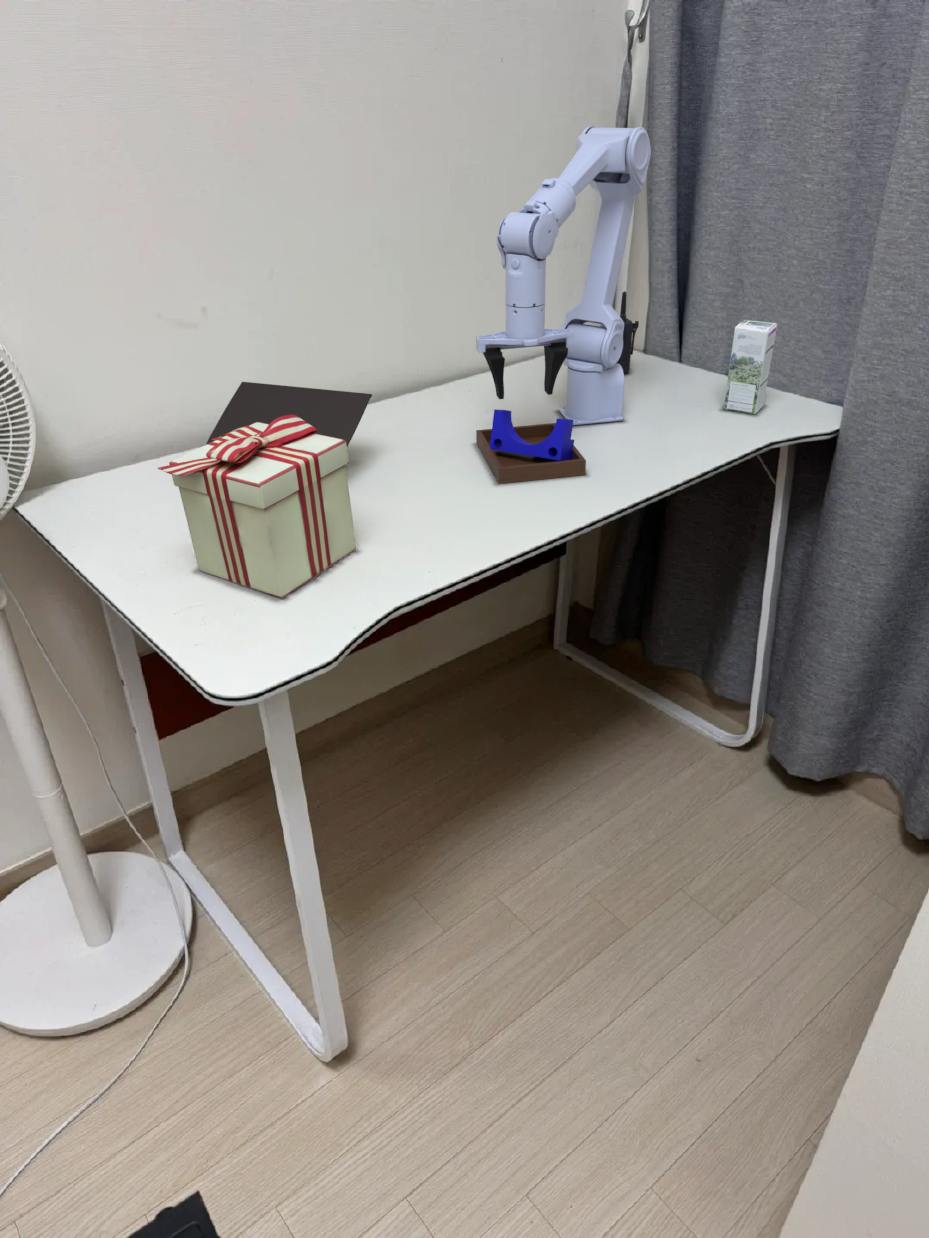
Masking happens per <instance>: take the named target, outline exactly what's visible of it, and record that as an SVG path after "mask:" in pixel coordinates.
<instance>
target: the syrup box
mask: <svg viewBox="0 0 929 1238" xmlns="http://www.w3.org/2000/svg"><path fill="white" fill-rule="evenodd" d="M777 329H778V323H776V322H769V321H768V322H767V321H758V320H748V319H743V320H742V321H740V322H739V323H738V324H737V325H735V326H734V332H733V339H732V347H731V353H730V360H729V367H728V375H727V382H726V389H725V397H724V403H723V410H724V411H725V410H726V411H730V412H737V413H743V414H750V415H756V414H757V413H758V412H759V411H760V410H761V409H762V408H763V407H764V405H765V401H766V394H767V388H768V380H769V376H770V375H769V374H770V370H771V364H772V363H771V362H772V357H773V352H774V346H775V342H776V341H775V340H776V334H777Z"/></svg>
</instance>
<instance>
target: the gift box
mask: <svg viewBox="0 0 929 1238" xmlns="http://www.w3.org/2000/svg"><path fill="white" fill-rule="evenodd" d="M317 431H318V430H317V429H316V428H314V427H313V426H311V425H310V424H308V423H307V422H305V421H304V420H302V419H301V418H300V417H298V416H296V415H286V416H282V417H278V418H277V419H275V420H274V421H272V422H271V423H270V424H265V423H259V422H256V423H254V424H251V425H249V426H244V427H241V428H238V429H236V430H233V431H231V432H229V433H227V434H224V435H222V436H221V437H217V438H214V439H212V440H215V441H213V442H211V443H209V444H207V445H206V444H204V445H203V446H201V447H198V448H196V449H194V450H191V451H189V452H187V453H185V454H183V455H181V456H178V457H176V458H174V459H172V460H170V461H169V462H168V465H164V466H159V467H157V470H160V471H162V472H164V473H166V474H169V475H171V477H172V478H171V479H172V482H173V485H174V486H175V487H178V491H179V495H180V499H181V502H182V507H183V511H184V514H185V518H186V524H187V527H188V531H189V537H190V540H191V545H192V549H193V552H194V558H195V562H196V565H197V569H198V571H199V572H202V573H206V574H208V575H212V576H215V577H217V578H220V579H223V580H226V581H229V582H231V583H235V584H237V585H240V586H243V587H247V588H249V589H253V590H256V591H259V592H261V593H264V594H267V595H272V596H275V597H277V598H281V599H283V598H284V597H287V596H288V595H289V594H291V593H292V592H294V591H295V590H297V589H298V588H299V587H301V586H303V585H304V584H305V583H307V582H308V581H310V580H311V579H314V578H316V577H317V576H318V575H319V574H321V572H323V571H325V570H327V569H329V568H330V567H331V566H332V565H333V564H335V563H336V562H338V561H339V560H342V559H343V558H344V557H346V556H347V555H348V554H349V553H351V552H353V551H354V550H356V548H357V542H356V535H355V527H354V520H353V519H354V518H353V511H352V505H351V495H350V489H349V481H348V475H347V474H348V473H347V465H349V464H350V459H349V454H348V447H347V445H346V441H345V440H343V439H338V438H333V437H328V436H324V435H319V434H315V432H317Z"/></svg>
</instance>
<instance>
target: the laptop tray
mask: <svg viewBox="0 0 929 1238" xmlns="http://www.w3.org/2000/svg"><path fill="white" fill-rule="evenodd" d="M372 397H373V394H372V393H366V392H354V391H344V390H333V389H324V388H313V387H312V388H311V387H302V386H293V385H292V386H291V385H281V384H270V383H260V382H252V381H251V382H249V381H241V383H240V384H239V385H238V387H237V389H236V391H235V392H234V394H233V395H232V397H231V398H230V400H229V402H228V403H227V406H226V407H225V409H224V410H223V412H222V414H221V416H220V418H219V419H218V421H217V423H216V424H215V426H214V428H213V430H212V432H211V434H210V435H209V437H208V439H207V441H206V443H205V445H207V444H209V443H211V442H213V441H215V440H212V439H214V438H217V437H221V436H222V435H224V434H227V433H229V432H231V431H233V430H236V429H238V428H241V427H244V426H249V425H251V424H254V423H256V422H259V423H265V424H270V423H271V422H272V421H274V420H275V419H277V418H278V417H282V416H286V415H296V416H298V417H300V418H301V419H302V420H304V421H305V422H307V423H308V424H310V425H311V426H313V427H314V428H316V429H317V430H318V431H317V432H315V434H319V435H324V436H328V437H333V438H338V439H343V440H345V441H346V445H347V448H348V447H349V445H350V443H351V441H352V439H353V437H354V435H355V433H356V431H357V429H358V427H359V424H360V422H361V420H362V418H363V416H364V413H365V412H366V409H367V406H368V404H369V402H370V400H371V398H372Z"/></svg>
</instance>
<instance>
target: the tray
mask: <svg viewBox="0 0 929 1238" xmlns="http://www.w3.org/2000/svg"><path fill="white" fill-rule="evenodd" d="M555 424H556V422H550V423H539V424H530V425H529V424H528V425H527V424H526V425H519V426H513V427H514V429H515V431H516V433H517V434H518V436H519V437H520V438H521V439H523V440H524V441H526V442H528V443H531V444H538V443H540V442H542V441H544V440H545V439H546V438H547V437H548V436H549V435H550V434H551V432H552V431H553V429H554V427H555ZM491 433H492V428H487V429H475V435H476V436H475V437H476V439H475V440H476V441H475V442H476V443H475V444H476V446H477V448H478V449H479V452H480V453H481V455H482V457H483V459H484V460H485V462H486V464H487V466H488V468H489V470H490V471H491V473H492V475H493V477H494V479H495V481H496V482H497V484H498V485H502V484H503V485H504V484H511V483H520V482H521V483H522V482H533V481H540V480H550V479H558V478H559V479H560V478H570V477H579V476H585V475H586V470H587V469H586V468H587V460H586V458H585V457H584V456H583V454H582V453H581V452H580V451H579V450H578V448H577V447H576V446H575V445H573V448H572V459H571V460H562V461H559V460H553V459H547V458H541V457H535V456H529V455H523V454H517V453H511V452H505V451H499V450H493V449H491V447H490V441H491Z"/></svg>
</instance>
